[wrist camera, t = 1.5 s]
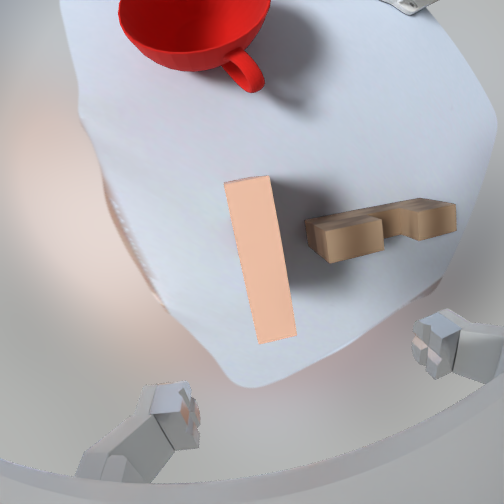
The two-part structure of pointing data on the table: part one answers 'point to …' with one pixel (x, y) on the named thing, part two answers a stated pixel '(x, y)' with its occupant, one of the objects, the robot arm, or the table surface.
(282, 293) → the peach notched block
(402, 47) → the table surface
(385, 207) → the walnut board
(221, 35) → the ceramic cup
